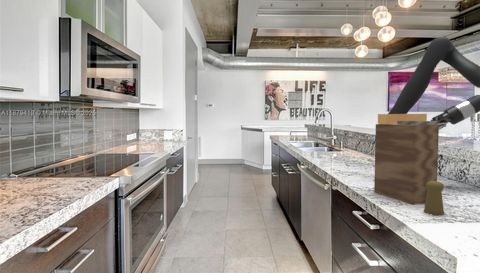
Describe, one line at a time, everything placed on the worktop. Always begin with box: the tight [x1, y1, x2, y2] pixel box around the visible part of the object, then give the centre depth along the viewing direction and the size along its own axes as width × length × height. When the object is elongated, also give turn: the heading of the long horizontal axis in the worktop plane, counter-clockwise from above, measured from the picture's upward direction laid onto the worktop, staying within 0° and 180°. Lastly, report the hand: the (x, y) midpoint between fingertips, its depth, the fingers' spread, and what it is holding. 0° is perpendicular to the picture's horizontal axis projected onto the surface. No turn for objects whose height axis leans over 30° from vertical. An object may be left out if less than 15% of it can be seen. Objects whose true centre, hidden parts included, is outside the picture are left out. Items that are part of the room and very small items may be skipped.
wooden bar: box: [377, 113, 428, 124], centre depth 132 cm, size 22×4×4 cm, turn 109°
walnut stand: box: [373, 120, 440, 205], centre depth 128 cm, size 12×20×32 cm, turn 18°
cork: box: [423, 180, 445, 216], centre depth 107 cm, size 6×6×11 cm
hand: (423, 130), depth 142 cm, fingers open, 8 cm apart
